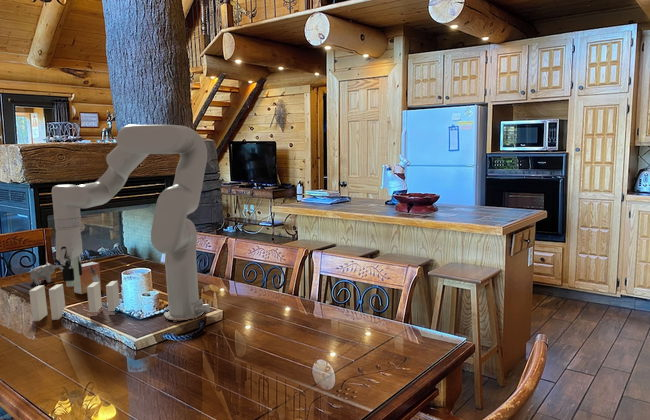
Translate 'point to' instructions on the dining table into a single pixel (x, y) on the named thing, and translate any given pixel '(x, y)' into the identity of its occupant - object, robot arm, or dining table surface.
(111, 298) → the domino
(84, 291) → the small box
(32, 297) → the domino
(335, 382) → the dining table surface
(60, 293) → the domino
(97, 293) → the domino
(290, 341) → the dining table surface
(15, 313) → the dining table surface
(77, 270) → the domino
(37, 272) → the elephant statuette
